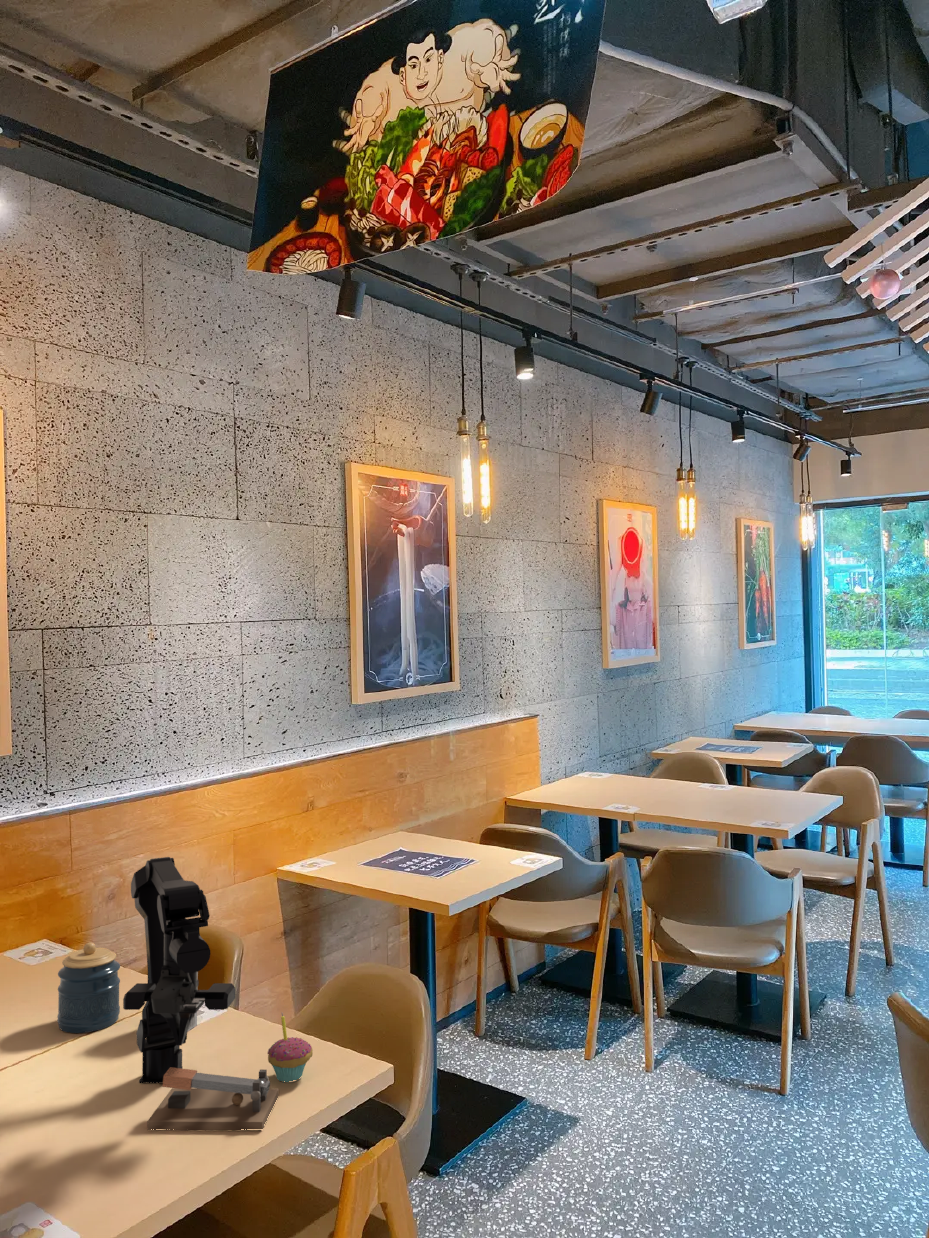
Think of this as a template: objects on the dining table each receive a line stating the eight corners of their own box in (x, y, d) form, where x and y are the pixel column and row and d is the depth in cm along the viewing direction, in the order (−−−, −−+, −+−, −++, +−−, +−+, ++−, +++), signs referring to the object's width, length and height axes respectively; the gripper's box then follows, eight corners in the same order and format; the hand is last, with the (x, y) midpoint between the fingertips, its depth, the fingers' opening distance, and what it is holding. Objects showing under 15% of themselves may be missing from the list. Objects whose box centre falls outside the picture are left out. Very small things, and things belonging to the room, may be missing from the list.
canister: (132, 1018, 204) (132, 939, 205) (81, 1039, 193) (81, 955, 194) (96, 1007, 211) (96, 930, 212) (44, 1026, 200) (45, 945, 201)
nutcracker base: (147, 1129, 155) (147, 1091, 155) (171, 1096, 167) (172, 1060, 167) (262, 1130, 154) (262, 1092, 155) (278, 1096, 166) (278, 1061, 167)
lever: (162, 1087, 160) (163, 1074, 160) (168, 1079, 163) (170, 1065, 163) (265, 1099, 159) (266, 1085, 159) (269, 1090, 162) (270, 1077, 162)
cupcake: (258, 1081, 173) (258, 1017, 173) (286, 1063, 180) (286, 1002, 181) (293, 1091, 169) (293, 1025, 169) (321, 1072, 176) (321, 1010, 177)
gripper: (110, 971, 154) (109, 1064, 154) (218, 971, 154) (217, 1064, 153) (135, 950, 165) (135, 1037, 165) (236, 950, 165) (236, 1037, 164)
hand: (179, 1044), depth 161 cm, fingers closed
